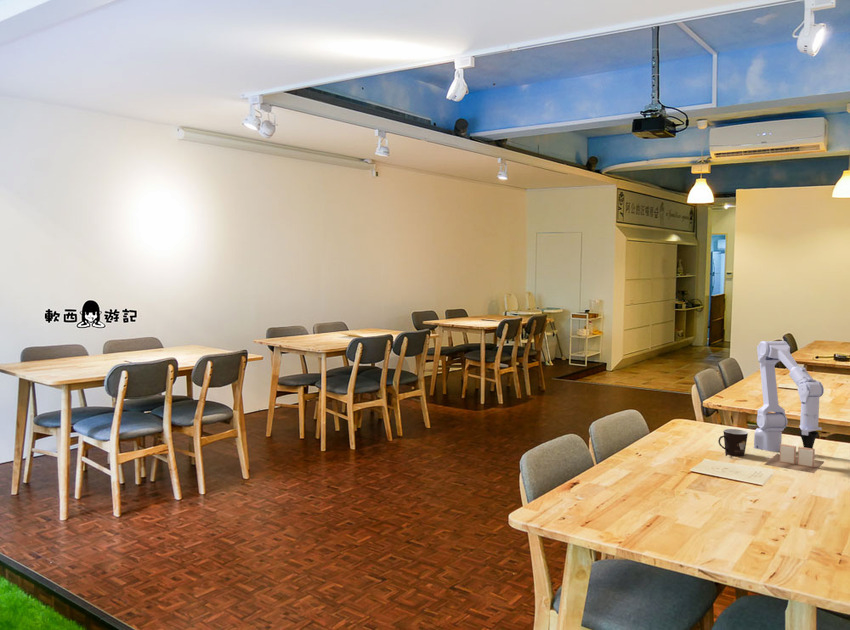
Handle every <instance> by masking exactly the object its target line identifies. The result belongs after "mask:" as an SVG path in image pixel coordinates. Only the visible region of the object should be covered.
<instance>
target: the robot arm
mask: <svg viewBox="0 0 850 630" xmlns="http://www.w3.org/2000/svg"><path fill="white" fill-rule="evenodd" d="M756 350H757V352H756V353H757V360H758V362H759V369H760V370H759V371H760V380H761V381H760V382H761V391H762V400H763V401H762V403H763V405H762V406H761V407H760V408H759V409H757V417H756V424H757V426H758V427H757V428H756V429H755V431H754V436H753V437H754V438H753V442H754V443H753V448H754V449H755V450H762V451H765V452H766V451H767V452H772V453H773V452H775V453H778V452H780V444H782V440H783V439H782V435H783V432H784V429H786V428H787V426H788V423H789V421H788V417H787V415H786V412H785V409H784V408H783V407H781V406H780V404H779V397H778V387H777V376H776V368H775V366H776V365H777V363H779V362H781V363H782V364H783V365H784V367H786V368H787V370H789V373H788V374H789V377H790V379H791V380H792V381H793V383H794V384H795V385H796V386H797V394H798V395H799V401H800V420H799V421H800V423H799V425H798V426H799V428H800V431H799V433H798V434H799V436H800V438H801V441H802V447H805V448H812V449H814V445H815V441H816V438H817V436H818V435H819V431H822V430H823V427H820V426H819V418H820V416H819V415H820V398H821V397H822V396H824V392H825V391H824V389H825V388H824V386H823V384H822V382H821V381H819V380H816V379H814V378H813V377H812V376H811V374H810V373H809V372H808V371H807V369H806V368H805V367H804V366H801V365H800V366H799V364H798V363H797V361H796V360H795V358H794V357H793V356H792V353H791V346H790V345H789V343H788V342H787V341H785V340H776V341H775V340H774V341H773V340H772V341H770V340H769V341H767V340H766V341H765V340H761V341H760V342H759V343H758V345H757V346H756Z"/></svg>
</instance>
